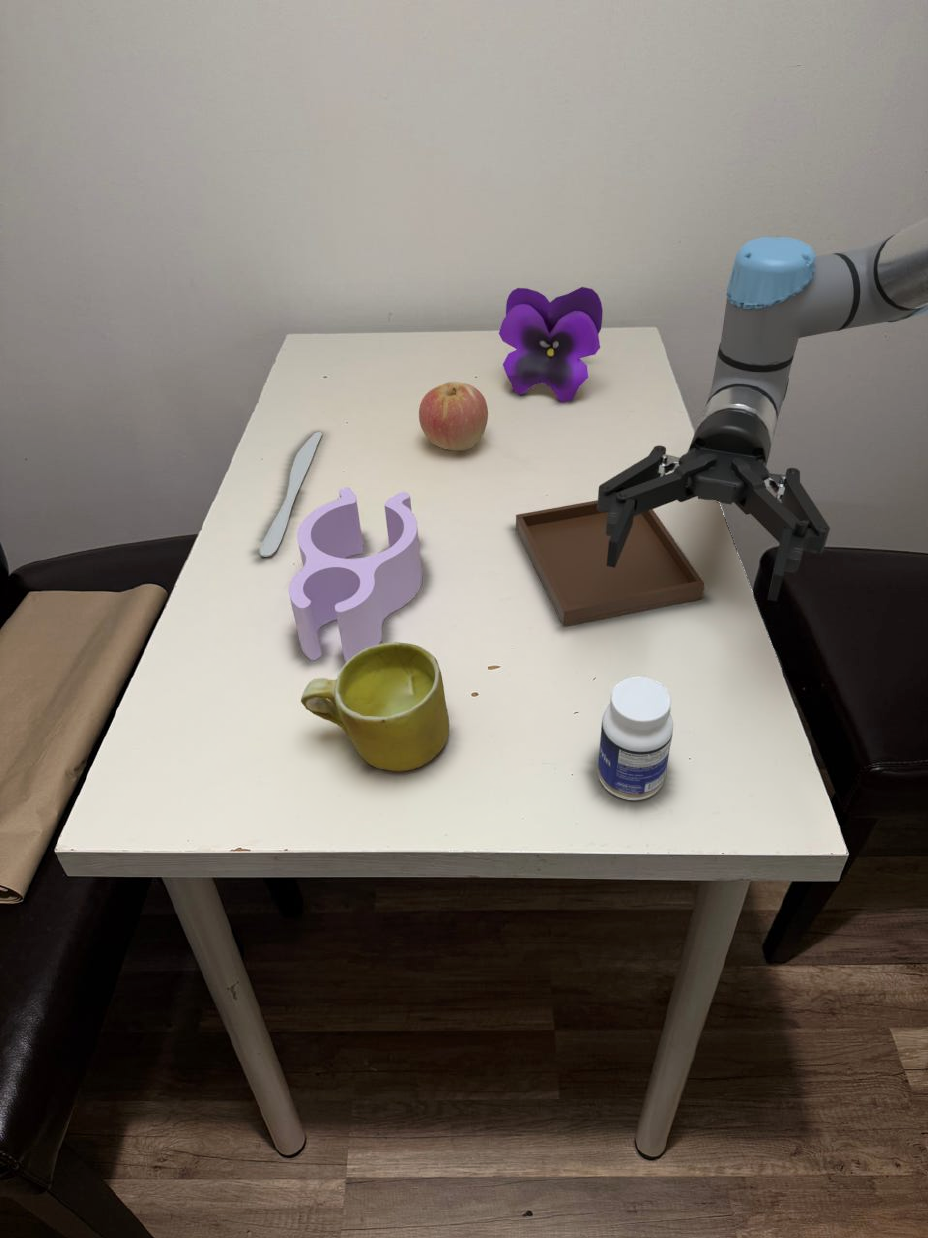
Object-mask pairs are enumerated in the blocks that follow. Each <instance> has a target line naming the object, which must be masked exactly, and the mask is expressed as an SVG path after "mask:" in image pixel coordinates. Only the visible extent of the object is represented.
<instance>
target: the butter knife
mask: <svg viewBox="0 0 928 1238" xmlns="http://www.w3.org/2000/svg"><path fill="white" fill-rule="evenodd" d="M322 435H323V432H321V431H317V432H315V433H313V434H312V435H311V436H310V438H309V439H308V440H307V441H306V442H305V443H304V445H303V446H301V448H300V449H299V450H298V451H297V453H296V455H295V458H294V460H293V463H292V466H291V468H290V472H289V480H288V487H287V491H286V495H285V498H284V501H283V504H282V505H281V508H280V509H279V512H278V513H277V515H276V517H275V518H274V520H273V522H272V523H271V525H270V527H269V529H268V531H267V532H266V534H265V537H264V538H263V540H262V543H261V545H260V548H259V550H258V551H259V556H260V557H264V558H268V557H271V556H272V555H273V554H274V553H275V552H276V551H277V549H278V548H279V546H280V543H281V541H282V539H283V537H284V534H285V531H286V528H287V525H288V521H289V518H290V515H291V511H292V508H293V505H294V501H295V499H296V497H297V494H298V491H299V489H300V487H301V486H302V482H303V481H304V479H305V477H306V473H307V472H308V469H309V467H310V465H311V462H312V461H313V457H314V455H315V452H316V450H317V447H318V444H319V442H320V440H321V438H322Z"/></svg>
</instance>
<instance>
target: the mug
mask: <svg viewBox="0 0 928 1238" xmlns="http://www.w3.org/2000/svg"><path fill="white" fill-rule="evenodd" d="M438 662H439V661H438V659H437V658H436V657H435V656H434V655H433V654H432V653H431V652H430V651H428V650H427V649H425V648H423V647H421V646H419V645H416V644H414V643H409V642H401V641H391V642H390V641H389V642H384V643H380V644H379V645H375V646H371V647H368V648H366V649H363V650H362V651H360V652H359V653H357V654H355V655H354V656H352V657H351V658H350V659H349V660H348V661H347V662H345V663H344V665H343V666H342V667H341V669H340V671H339V673H338V674H337V678H335V679H329V678H325V677H320V678H319V677H318V678H314V679H312V680H311V681H309V682H308V684H307V685H306V687H305V688H304V691H303V692H302V695H301V698H300V703H301V704H302V705H303V706H304V708H305V709H306V710H307V711H309V712H311V713H312V714H313V715H315V716H317V717H319V718H321V719H322V720H325V721H329V722H330V723H333V724H335V725H337V726H338V727H340V728H341V729H342V731H343V732H344V733H345V734H346V735H347V736H348V737H347V738H349V739H350V740H351V741H352V743H353V745H354V748H355V750H356V751H357V752H358V754H359V755H360V756H361V758H362V759H363V760H364V761H365V763H367V764H369V765H371V766H372V767H374V768H377V769H380V770H387V771H388V770H389V771H391V772H392V771H393V772H406V771H411V770H416V769H418V768H420V767H423V766H425V765H427V764H428V763H429V762H430V761H433V759H434V758H435V757H436V756H437V755H439V753H440V752H441V751H442V750H443V749H444V747H445V745H446V743H447V741H448V738H449V734H450V718H449V712H448V707H447V703H446V702H447V701H446V695H445V688H444V687H445V686H444V681H443V675H442V671H441V668H440V665H439V663H438Z"/></svg>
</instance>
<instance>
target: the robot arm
mask: <svg viewBox="0 0 928 1238" xmlns="http://www.w3.org/2000/svg"><path fill="white" fill-rule="evenodd" d="M725 295H726V301H725V309H724V317H723V323H722V330H721V338H720V343H719V344H718V345H719V346H718V350H717V354H716V361H715V367H714V372H713V378H712V383H711V388H710V392H709V394H708V397H707V401H706V404H705V407H703V408H704V409H703V410H702V413H701V416H700V417H699V420H698V424H697V426H696V430H695V432H694V435H693V437H692V439H691V441H690V444H689V447H688V450H687V452H686V453H684V454H683V455H681V456H680V457H679V456H675V455H670V454H667V448H666V446H664V445H661V444H660V445H655V446H654V447H653V448H652V450H651V451H650V453H649V454H648V456H645V457H644V458H642V459H640V460H639V461H637V462H636V463H634V464H633V465H631V466H629V467H628V468H626V469H624V470H623V471H621V472H619V473H618V474H616V475H614V476H612V477H611V478H610V479H608V480H606V481H605V482H603V483H601V484H600V485H599V486H598V494H597V500H598V504H597V510H598V511H599V512H602V513H606V512H610V513H609V515H608V517H607V520H606V535H608V536H611V537H610V540H609V544H608V555H607V566H609V567H614V568H615V566H616V564H617V562H618V559H619V557H620V554H621V552H622V549H623V547H624V545H625V542H626V540H627V537H628V535H629V532H630V530H631V528H632V525H633V517H634V516H636V515H639V514H641V513H644V512H647V511H649V510H652V509H653V510H655V509H657V508H660V507H662V506H665V505H667V504H670V503H673V502H675V501H677V502H679V503H683V502H686V501H689V500H691V499H694V498H697V499H698V500H703V501H716V502H719V503H721V504H726V505H732V504H735V505H736V507H738V509H740V510H741V512H743V514H745V515H751V516H752V517H753V518H754V519H755V520H756V521H757V522H758V523H759V524H760V526H762V527H763V528H764V529H765V530H766V531H767V532H768V533H769V534H770V535H771V536H772V537H773V538H774V539H775V540H776V541H777V542H778V543H779V545H778V549H777V552H776V557H775V560H774V561H775V562H774V566H773V571H772V576H771V581H770V585H769V591H768V595H767V598H766V599H767V600H768V601H772V602H778V598H779V595H780V591H781V586H782V583H783V579H784V576H785V572H788V573H793V574H796V573H797V572H798V571H799V569H800V566H801V561H802V558H803V552H804V551H809V552H810V553H812V554H814V555H821V554H823V552H824V550H825V547H826V543H827V540H828V537H829V533H830V531H831V527H830V526H829V524H828V523H827V521H826V520H825V518H824V517H823V515H822V513H821V512H820V511H819V509H818V507H817V506H816V503H815V502H814V501H813V500H812V498H811V496H810V495H809V494H808V492H807V490H806V489H805V487H804V486H803V484H802V483H801V471H800V470H799V469H798V468H797V467H788V468H787V469H786V472H785V474H781V473H773V472H771V473H770V471H769V469H768V468H767V465H768V461H769V457H770V453H771V448H772V445H773V442H774V438H775V434H776V430H777V425H778V420H779V415H780V414H781V410H782V406H783V403H784V401H785V398H786V394H787V392H788V386H789V382H790V372H791V369H792V364H793V361H794V357H795V353H796V350H797V346H798V342H799V339H802V338H807V337H812V336H817V335H822V334H827V333H833V332H839V331H843V330H848V329H854V328H858V327H859V328H861V327H865V326H870V325H876V324H883V323H897V322H899V321H904V320H907V319H909V318H912V317H915V316H920V315H922V314H925V313H926V312H928V216H926V217H924V218H922V219H921V220H919V221H916V222H915V223H913V224H910V226H907V227H905V228H903V229H901V230H900V231H897V232H896V233H895V234H893V235H890V236H888V237H886V238H884V239H882V240H880V241H878V242H876V243H874V244H871V245H870V246H869V245H868V246H866V247H863V248H857V249H852V250H848V251H847V250H846V251H841V252H834V253H828V254H827V253H826V254H821V255H816V252H815V250H814V249H813V247H812V246H811V245H810V244H808V243H806V242H804V241H802V240H800V239H797V238H793V237H787V236H780V237H773V236H763V237H758V238H754V239H751V240H749V241H748V242H746V243H744V244H743V245H742V246H741V247H740V248H739V249H738V251H737V252H736V255H735V258H734V262H733V264H732V268H731V271H730V276H729V280H728V284H727V287H726V294H725ZM767 488H769V489H771V490H773V492H774V494H776V495H775V496H774V494H772V493H771V492H770V491H769V490H768V489H767Z"/></svg>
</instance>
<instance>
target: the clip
mask: <svg viewBox="0 0 928 1238" xmlns="http://www.w3.org/2000/svg"><path fill="white" fill-rule="evenodd" d="M338 495H339V498H337V499H334V500H332V501H329V502H326V503H324V504H322V505H320V506H319V507H317V508H315V509H314V510H312V511H311V512H310V513H308V515H306V517H305V518H304V519H302V522H301V523H300V525H299V527H298V529H297V535H296V540H297V545H298V548H299V553H300V559H301V563H302V568H301V569H300V570H299V571H298V572H296V574H295V575H294V576H293V577H292V579H291V580H290V583H289V584H288V596H289V601H290V605H291V610H292V613H293V618H294V623H295V627H296V630H297V636H298V640H299V644H300V648H301V651H302V652H303V654H304V656H306V658H308V659H309V660H311V661H317V660H318V659H320V658H321V657H322V655H323V653H322V648H321V643H320V639H319V633H318V631H319V630H320V629H321V628H322V627H323V626H325V625H326V624H329V623H331V622H333V621H337V626H338V632H339V638H340V643H341V648H342V653H343V659H344V662H345V663H346V662H347V661H348V660H349V659H350V658H351V657H352V656H354V655H355V654H357V653H359V652H360V651H362V650H363V649H366V648H368V647H371V646H375V645H379V644H381V641H382V639H383V631H382V627H383V623H384V621H385V619H386V618H387V617H388V616H390V615H391V614H392V613H394V612H396V611H398V610H400V609H402V608H403V607H405V606H406V605H408V604H409V603H410V602H411V601H412V600H413V599H414V598H415V597H416V596H417V594H418V592H419V591H420V589H421V586H422V583H423V571H422V561H421V549H420V548H421V547H420V538H419V529H418V521H417V518H416V516H415V514H414V513H413V511H412V501H411V494H410V493H409V492H407V491H401V492H398V493H397V494H395V495H393V496H391V497H389V498H388V499H387V500H386V501H385V502H384V503H383V505H384V506H383V507H384V512H385V513H384V514H385V521H386V529H387V530H386V531H387V538H388V539H387V540H388V547H389V548H387V549H385V550H384V551H381V552H379V553H377V554H373V555H370V556H365V557H361V558H360V557H359V558H349V557H353V556H357V555H361V554H363V553H364V552H365V551H364V548H365V547H364V540H363V533H362V527H361V520H360V514H359V506H358V501H357V495H356V494H355V492H354V491H353V489H352V488H351V487H342V488H340V489H339V490H338Z"/></svg>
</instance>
